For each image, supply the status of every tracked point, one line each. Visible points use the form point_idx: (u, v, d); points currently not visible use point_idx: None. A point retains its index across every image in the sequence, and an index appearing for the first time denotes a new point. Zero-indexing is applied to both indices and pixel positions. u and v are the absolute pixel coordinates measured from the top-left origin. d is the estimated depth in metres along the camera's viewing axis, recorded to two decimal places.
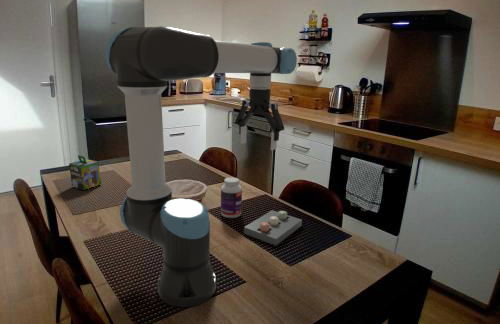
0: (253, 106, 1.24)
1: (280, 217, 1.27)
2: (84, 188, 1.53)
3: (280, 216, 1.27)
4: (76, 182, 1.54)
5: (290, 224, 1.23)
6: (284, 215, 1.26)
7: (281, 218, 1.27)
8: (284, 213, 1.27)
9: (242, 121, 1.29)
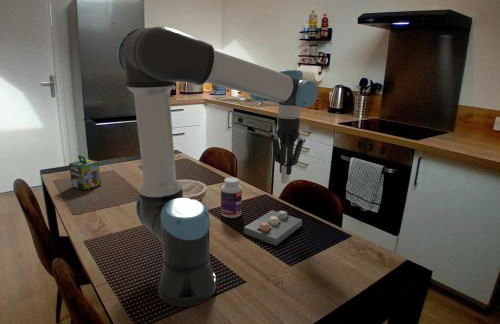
0: (281, 135, 1.18)
1: (280, 217, 1.27)
2: (84, 188, 1.53)
3: (280, 216, 1.27)
4: (76, 182, 1.54)
5: (290, 224, 1.23)
6: (284, 215, 1.26)
7: (281, 218, 1.27)
8: (284, 213, 1.27)
9: (281, 158, 1.21)
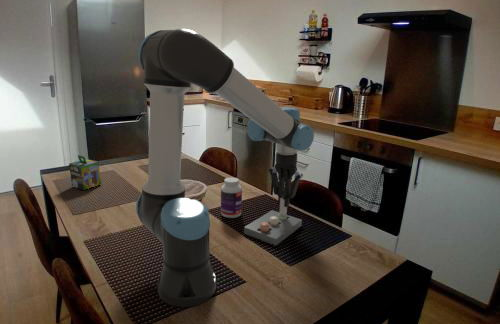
0: (279, 170, 1.22)
1: (280, 219, 1.27)
2: (84, 188, 1.53)
3: (280, 218, 1.27)
4: (76, 182, 1.54)
5: (290, 224, 1.23)
6: (284, 217, 1.27)
7: None
8: (284, 215, 1.27)
9: (279, 191, 1.25)
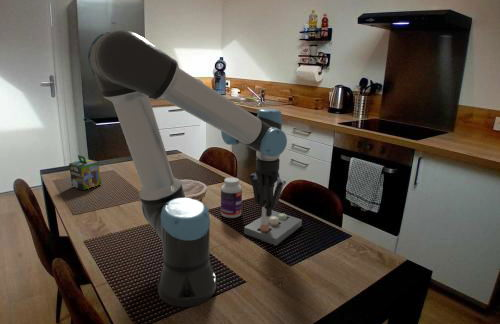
0: (260, 177, 1.12)
1: None
2: (84, 188, 1.53)
3: (280, 219, 1.27)
4: (76, 182, 1.54)
5: (290, 224, 1.23)
6: (284, 218, 1.27)
7: None
8: (284, 216, 1.27)
9: (261, 199, 1.15)
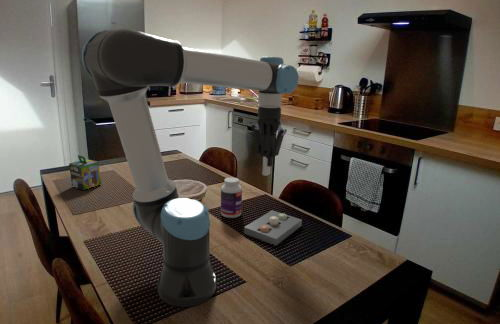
0: (262, 125, 1.14)
1: None
2: (84, 188, 1.53)
3: (280, 219, 1.27)
4: (76, 182, 1.54)
5: (290, 224, 1.23)
6: (284, 218, 1.27)
7: None
8: (284, 216, 1.27)
9: (262, 149, 1.17)
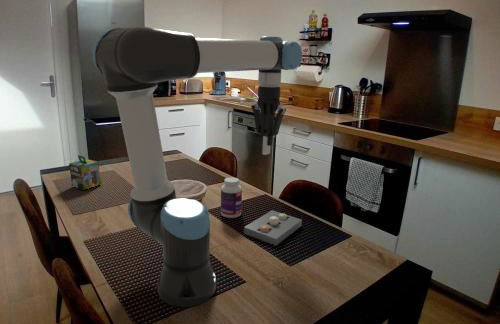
0: (262, 105, 1.17)
1: None
2: (84, 188, 1.53)
3: (280, 219, 1.27)
4: (76, 182, 1.54)
5: (290, 224, 1.23)
6: (284, 218, 1.27)
7: None
8: (284, 216, 1.27)
9: (262, 128, 1.20)
